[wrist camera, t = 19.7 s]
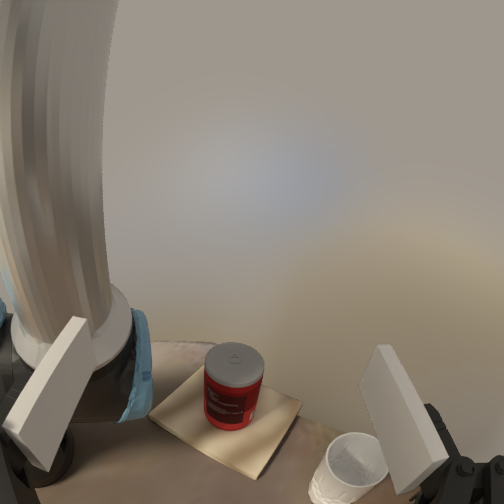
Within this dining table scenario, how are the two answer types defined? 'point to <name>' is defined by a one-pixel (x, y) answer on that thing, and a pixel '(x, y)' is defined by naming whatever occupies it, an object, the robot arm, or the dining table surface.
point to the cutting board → (228, 442)
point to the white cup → (348, 469)
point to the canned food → (232, 385)
